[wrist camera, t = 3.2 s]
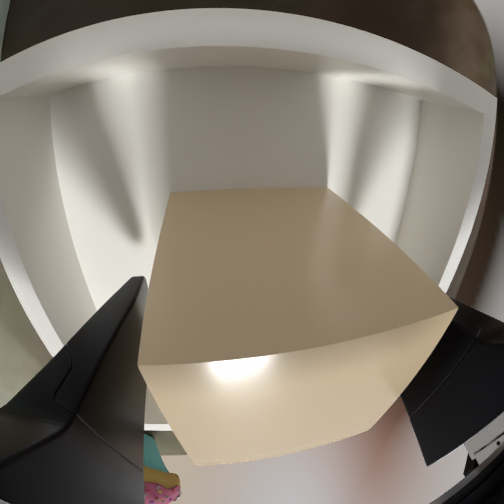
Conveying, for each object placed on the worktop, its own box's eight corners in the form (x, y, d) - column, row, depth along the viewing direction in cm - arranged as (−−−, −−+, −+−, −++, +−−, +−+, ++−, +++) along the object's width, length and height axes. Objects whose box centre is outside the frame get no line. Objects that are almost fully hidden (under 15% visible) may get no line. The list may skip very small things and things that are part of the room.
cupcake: (65, 414, 15) (58, 542, 5) (158, 417, 16) (172, 569, 6) (112, 450, 20) (115, 548, 9) (189, 450, 21) (205, 557, 10)
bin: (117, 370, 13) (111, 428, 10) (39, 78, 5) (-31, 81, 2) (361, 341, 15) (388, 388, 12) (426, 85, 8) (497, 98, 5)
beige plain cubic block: (186, 316, 10) (195, 465, 5) (170, 192, 8) (137, 366, 3) (308, 303, 11) (368, 429, 6) (327, 187, 9) (458, 307, 4)
